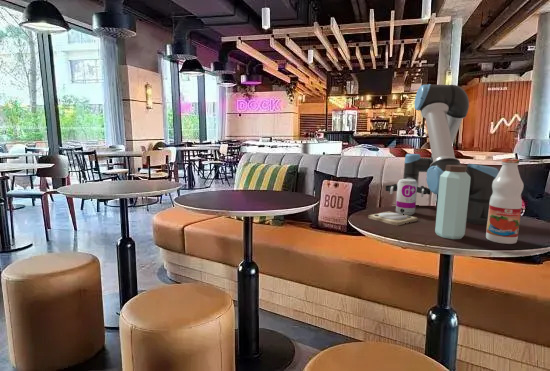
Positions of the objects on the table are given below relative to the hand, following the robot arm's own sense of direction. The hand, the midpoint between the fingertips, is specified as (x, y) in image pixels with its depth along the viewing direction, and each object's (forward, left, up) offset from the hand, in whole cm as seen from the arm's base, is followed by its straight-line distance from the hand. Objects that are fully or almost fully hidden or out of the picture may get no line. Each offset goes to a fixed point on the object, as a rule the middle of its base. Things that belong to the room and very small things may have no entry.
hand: (406, 192), depth 173 cm
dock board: (-7, +20, -8) cm, 23 cm away
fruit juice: (-46, +13, -9) cm, 49 cm away
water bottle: (-33, +23, -9) cm, 41 cm away
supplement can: (-3, +5, -9) cm, 10 cm away
